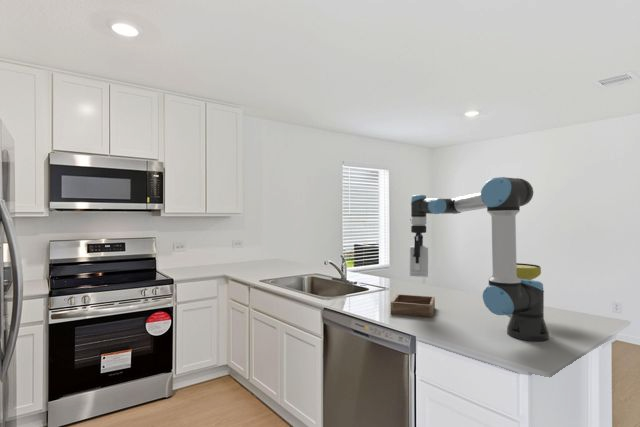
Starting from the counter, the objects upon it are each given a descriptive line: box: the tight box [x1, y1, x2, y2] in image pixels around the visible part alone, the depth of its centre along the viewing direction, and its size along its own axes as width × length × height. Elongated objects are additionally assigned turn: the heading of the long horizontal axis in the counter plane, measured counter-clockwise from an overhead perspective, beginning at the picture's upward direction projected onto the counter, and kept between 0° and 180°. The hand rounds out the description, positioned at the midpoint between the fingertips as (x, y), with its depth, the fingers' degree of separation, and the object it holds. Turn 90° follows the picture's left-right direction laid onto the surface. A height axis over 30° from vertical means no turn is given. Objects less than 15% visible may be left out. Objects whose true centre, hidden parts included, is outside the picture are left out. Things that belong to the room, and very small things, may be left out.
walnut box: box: [390, 293, 436, 319], centre depth 193 cm, size 20×20×6 cm
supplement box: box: [409, 245, 429, 278], centre depth 192 cm, size 9×9×15 cm
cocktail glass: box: [507, 262, 542, 319], centre depth 181 cm, size 18×18×25 cm
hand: (418, 268), depth 192 cm, fingers closed on supplement box, 10 cm apart
